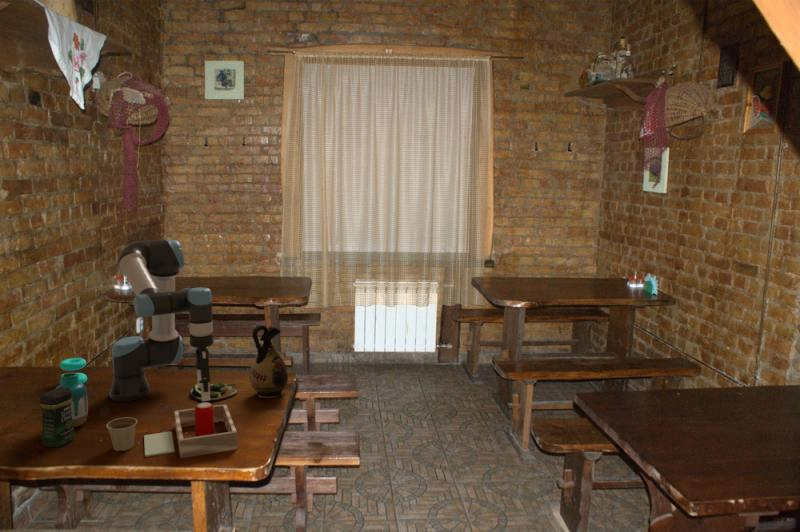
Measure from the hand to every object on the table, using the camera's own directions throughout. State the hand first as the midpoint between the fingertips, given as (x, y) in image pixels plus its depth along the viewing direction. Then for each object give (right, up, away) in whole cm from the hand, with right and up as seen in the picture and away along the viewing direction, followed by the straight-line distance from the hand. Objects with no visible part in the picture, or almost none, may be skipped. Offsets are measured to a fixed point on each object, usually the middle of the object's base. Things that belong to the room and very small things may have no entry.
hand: (203, 393), depth 212 cm
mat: (-14, -17, -3) cm, 22 cm away
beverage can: (0, -16, +3) cm, 16 cm away
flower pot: (-25, -17, -5) cm, 31 cm away
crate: (0, -16, +3) cm, 16 cm away
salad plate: (-10, -10, +43) cm, 45 cm away
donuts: (-72, -7, +53) cm, 90 cm away
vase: (-51, -14, +10) cm, 54 cm away
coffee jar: (-48, -16, -2) cm, 51 cm away
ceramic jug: (+13, -10, +43) cm, 46 cm away
